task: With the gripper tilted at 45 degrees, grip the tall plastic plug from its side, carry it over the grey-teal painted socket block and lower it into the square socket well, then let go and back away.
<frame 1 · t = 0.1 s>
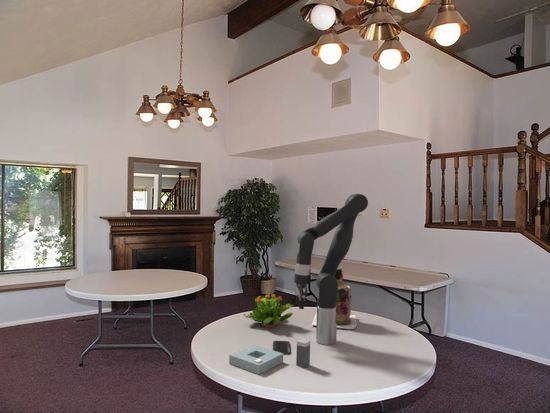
hand: (299, 306, 185), 17 cm above the table, tool pointing down, fingers open, 8 cm apart
plug: (303, 365, 158), on the table
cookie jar: (334, 323, 219), on the table
socket: (256, 362, 159), on the table
phone: (281, 349, 177), on the table
green flowering plant: (271, 324, 212), on the table
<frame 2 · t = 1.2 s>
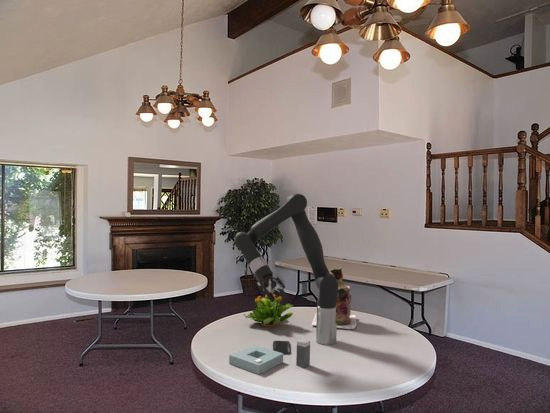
hand: (279, 299, 165), 25 cm above the table, tool tilted 45°, fingers open, 8 cm apart
nothing on the table moved.
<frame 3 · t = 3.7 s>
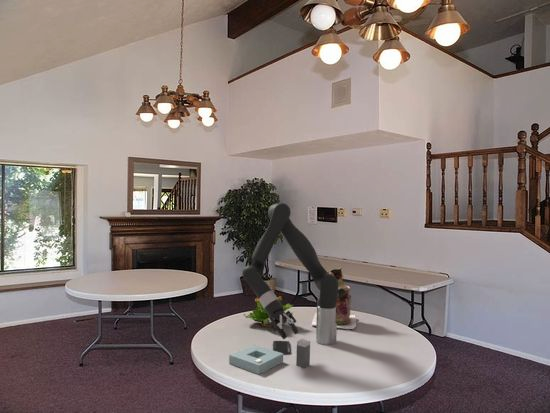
hand: (291, 335, 161), 11 cm above the table, tool tilted 45°, fingers open, 8 cm apart
nothing on the table moved.
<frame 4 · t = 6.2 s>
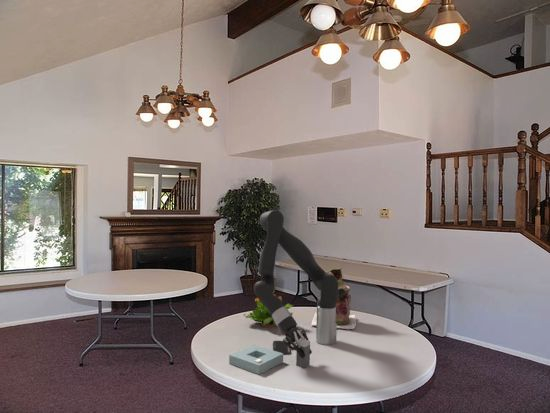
hand: (307, 355, 156), 5 cm above the table, tool tilted 45°, fingers closed on plug, 4 cm apart
plug: (302, 365, 157), on the table, touching gripper
everything else where it was.
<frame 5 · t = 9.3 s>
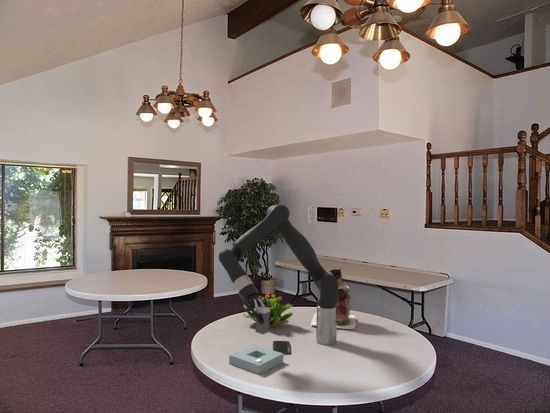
hand: (266, 322, 158), 17 cm above the table, tool tilted 45°, fingers closed on plug, 4 cm apart
plug: (262, 332, 159), point 13 cm above the table, touching gripper
everything else where it was.
when the fingers open (6 cm above the table, at t = 12.5 s): plug drops 1 cm, resting on socket.
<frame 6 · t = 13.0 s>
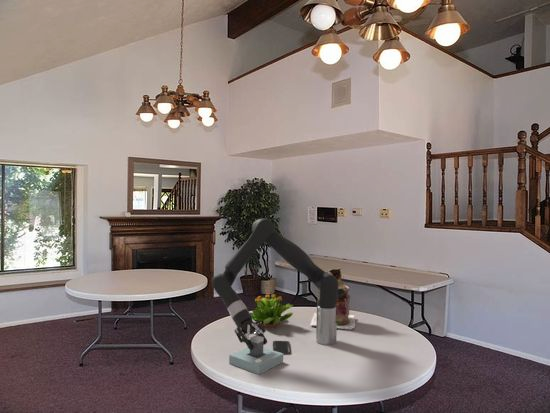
hand: (259, 346, 158), 7 cm above the table, tool tilted 45°, fingers open, 8 cm apart
plug: (256, 361, 159), resting on socket
everything else where it was.
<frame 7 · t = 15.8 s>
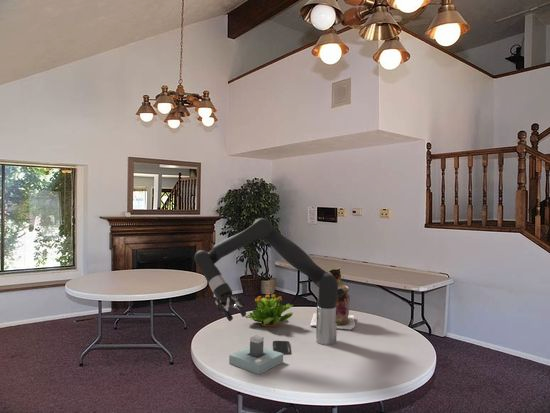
hand: (238, 317, 165), 17 cm above the table, tool tilted 45°, fingers open, 8 cm apart
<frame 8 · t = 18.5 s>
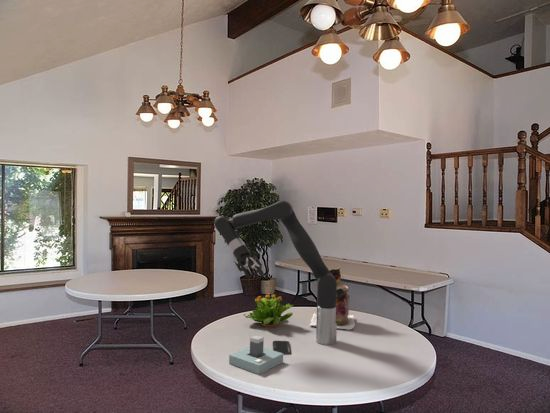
hand: (256, 275, 179), 33 cm above the table, tool tilted 45°, fingers open, 8 cm apart
at the end: plug 0.0 cm off-centre on the socket, point 0.5 cm above the socket's base; plug tilted 0°; the gripper is holding nothing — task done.
